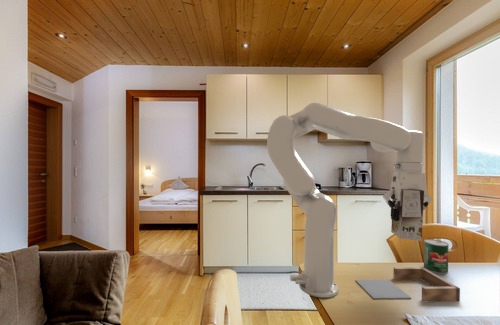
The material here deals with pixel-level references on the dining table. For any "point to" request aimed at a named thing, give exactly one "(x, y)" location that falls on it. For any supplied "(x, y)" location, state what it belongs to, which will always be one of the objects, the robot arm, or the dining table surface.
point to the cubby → (440, 289)
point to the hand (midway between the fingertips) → (406, 220)
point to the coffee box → (410, 215)
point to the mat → (382, 289)
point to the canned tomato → (436, 256)
